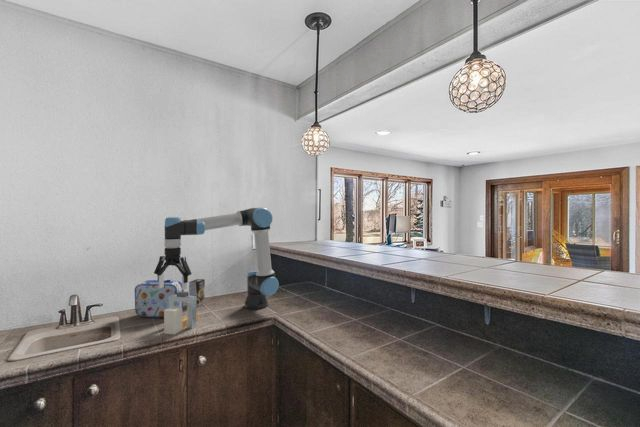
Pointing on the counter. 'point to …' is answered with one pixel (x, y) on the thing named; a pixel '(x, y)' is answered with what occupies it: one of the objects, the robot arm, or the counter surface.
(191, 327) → the housing
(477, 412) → the counter surface
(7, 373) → the counter surface
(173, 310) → the plug
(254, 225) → the robot arm
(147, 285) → the lunch box
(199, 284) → the coffee box
